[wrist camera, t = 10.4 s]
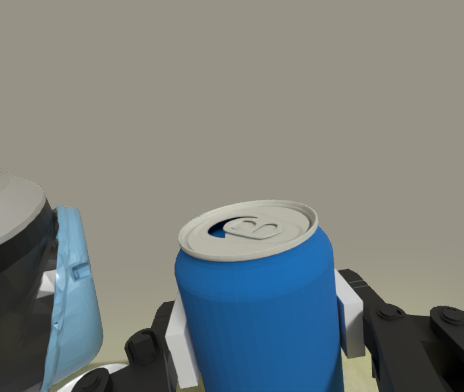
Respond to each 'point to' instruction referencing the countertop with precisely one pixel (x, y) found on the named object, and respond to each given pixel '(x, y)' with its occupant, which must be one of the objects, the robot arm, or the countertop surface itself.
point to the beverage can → (261, 298)
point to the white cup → (67, 388)
